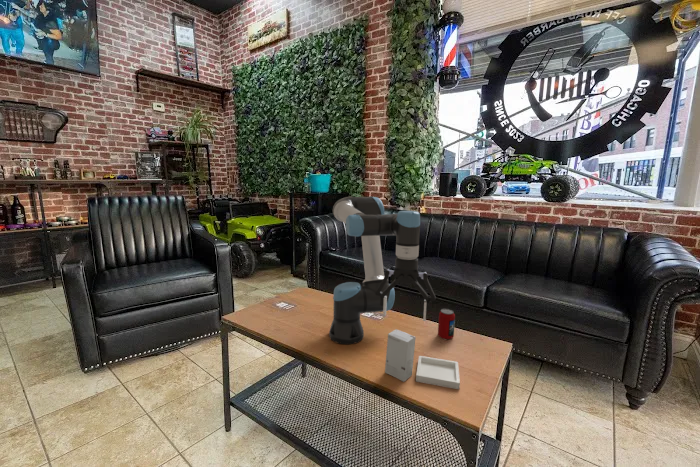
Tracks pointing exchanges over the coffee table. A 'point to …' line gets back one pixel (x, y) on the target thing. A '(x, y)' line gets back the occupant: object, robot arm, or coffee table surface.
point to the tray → (438, 372)
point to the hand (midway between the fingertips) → (404, 317)
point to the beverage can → (446, 324)
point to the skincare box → (400, 354)
